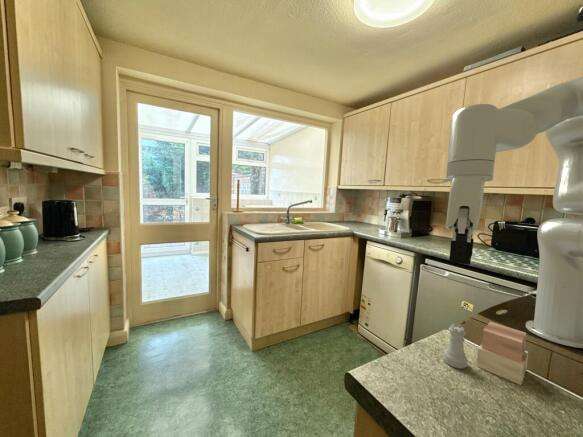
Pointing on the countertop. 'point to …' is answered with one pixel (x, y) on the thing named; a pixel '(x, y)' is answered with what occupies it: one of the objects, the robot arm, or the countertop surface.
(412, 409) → the countertop surface
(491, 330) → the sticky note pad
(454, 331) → the rook chess piece
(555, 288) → the robot arm
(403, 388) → the countertop surface
